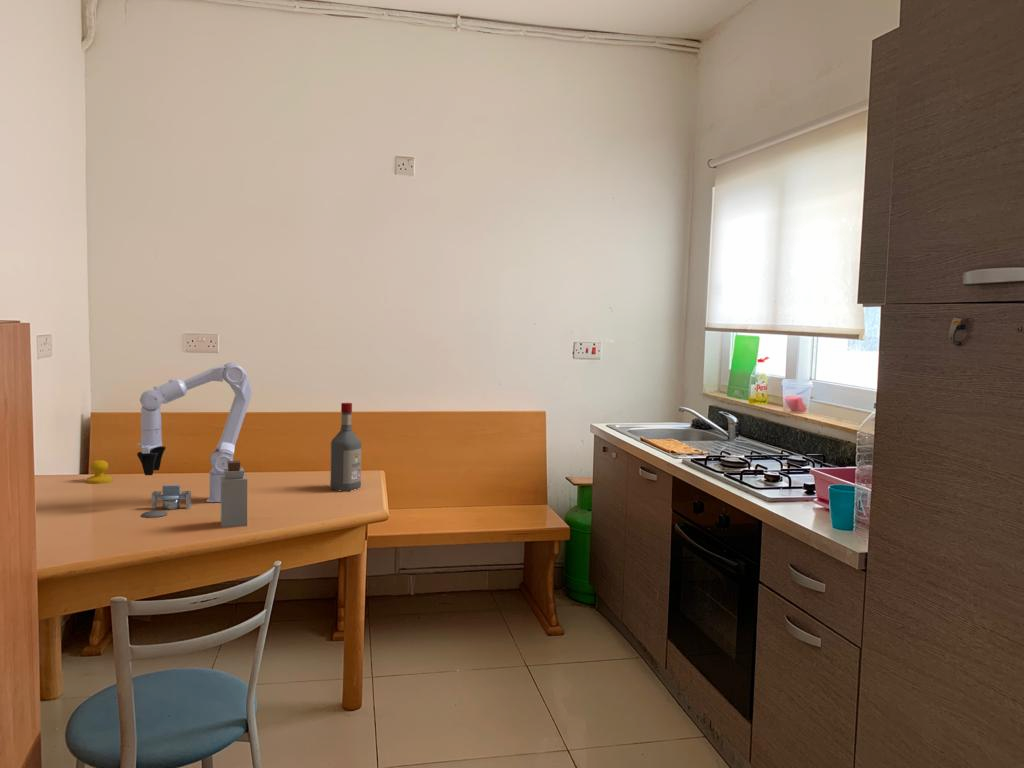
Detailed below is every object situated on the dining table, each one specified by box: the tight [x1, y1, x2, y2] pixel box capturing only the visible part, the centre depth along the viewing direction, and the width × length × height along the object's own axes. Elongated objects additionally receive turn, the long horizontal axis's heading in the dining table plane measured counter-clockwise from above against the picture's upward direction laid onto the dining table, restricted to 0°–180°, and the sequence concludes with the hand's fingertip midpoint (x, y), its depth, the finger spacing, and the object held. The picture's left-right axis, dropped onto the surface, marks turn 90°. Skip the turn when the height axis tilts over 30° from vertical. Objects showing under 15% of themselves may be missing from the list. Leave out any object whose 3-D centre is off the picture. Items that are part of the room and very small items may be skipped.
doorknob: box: [86, 459, 113, 485], centre depth 275 cm, size 8×8×8 cm
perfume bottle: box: [220, 460, 248, 529], centre depth 226 cm, size 7×7×18 cm
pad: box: [141, 510, 169, 519], centre depth 233 cm, size 7×7×1 cm
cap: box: [157, 484, 186, 501], centre depth 241 cm, size 8×6×4 cm
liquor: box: [329, 402, 362, 492], centre depth 274 cm, size 9×9×30 cm
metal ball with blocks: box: [151, 490, 192, 511], centre depth 242 cm, size 11×5×5 cm, turn 101°
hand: (152, 472), depth 244 cm, fingers open, 7 cm apart
